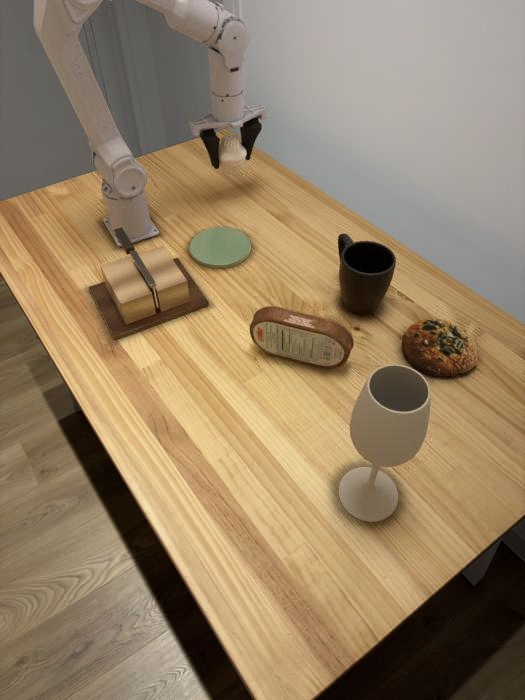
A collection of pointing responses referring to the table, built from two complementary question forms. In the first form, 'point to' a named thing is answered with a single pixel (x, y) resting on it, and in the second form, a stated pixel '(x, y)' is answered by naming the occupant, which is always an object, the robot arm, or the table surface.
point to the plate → (220, 247)
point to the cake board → (150, 321)
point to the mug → (364, 273)
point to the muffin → (231, 154)
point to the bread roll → (439, 348)
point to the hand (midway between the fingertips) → (230, 162)
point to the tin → (301, 337)
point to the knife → (137, 261)
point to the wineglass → (384, 438)
